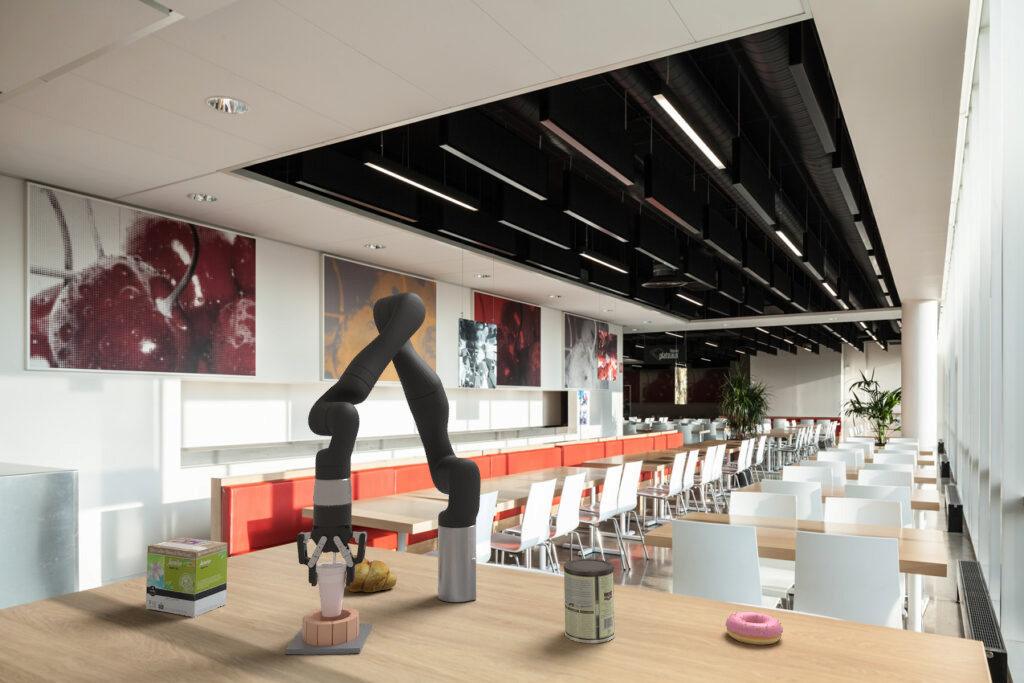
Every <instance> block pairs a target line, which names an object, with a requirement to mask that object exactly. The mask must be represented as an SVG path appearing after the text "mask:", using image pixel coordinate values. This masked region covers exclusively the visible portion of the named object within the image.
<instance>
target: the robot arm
mask: <svg viewBox="0 0 1024 683" xmlns="http://www.w3.org/2000/svg"><path fill="white" fill-rule="evenodd" d="M426 312H427V311H426V306H425V302H424V301H423V299H422V298H421V296H419V295H418V294H417V293H415V292H410V291H409V292H406V291H404V292H399V293H397V294H396V293H395V294H393V295H388V296H383V297H381V298H379V299H377V300H376V301H375V303H374V305H373V309H372V315H373V322H374V324H375V327H376V329H377V332H378V335H376V337H375V338H373V340H371V342H369V343H368V344H367V345H366V346H365V347H364V348H362V349H361V350H360V351H359V352H358V353H357V354H356V355H355V356H354V358H353V359H352V360H351V361H350V363H348V365H347V367H346V368H345V370H344V371H343V373H342V374H341V376H340V377H339V379H338V381H337V382H336V383H334V384H333V385H332V386H331V387H330V388H328V389H327V390H326V391H325V392H324V393H323V394H322V395H321V396H320V397H319V398H317V400H316V401H315V402H314V403H313V405H312V406H311V408H310V410H309V414H308V416H307V417H308V418H307V424H308V427H309V429H310V432H312V433H313V434H314V435H317V436H320V437H331V438H330V441H329V445H328V447H326V448H321V449H320V450H318V451H317V452H316V455H315V462H314V465H315V466H314V468H315V469H314V478H315V479H314V484H313V495H312V501H313V505H312V506H313V507H312V508H313V510H312V517H313V518H312V530H311V531H308V532H305V531H301V532H299V533H298V534H297V535H296V546H297V555H298V556H297V558H298V564H299V565H303V566H307V568H308V583H309V584H311V587H316V586H317V585H318V575H317V572H316V571H315V570H316V565H317V563H318V561H319V559H320V557H321V556H322V553H325V554H326V553H327V554H328V553H331V552H332V553H333V552H334V553H336V554H337V553H340V554H341V557H342V558H343V559H344V560H345V561H344V562H346V563H347V565H348V566H347V568H346V579H345V581H346V584H345V587H346V586H350V585H351V584H352V583H353V581H354V579H355V565H356V564H360V563H362V561H363V560H364V558H365V557H366V547H367V540H368V532H367V531H365V530H362V531H354V529H353V526H352V525H353V524H352V513H353V508H352V506H353V505H352V504H353V502H352V500H353V495H352V494H353V493H352V492H353V488H352V479H351V476H352V475H351V474H352V472H351V470H352V468H351V467H352V455H353V452H354V449H355V443H356V440H357V436H358V433H359V429H360V422H361V421H360V420H361V419H360V414H359V411H358V409H357V408H356V405H359V404H363V403H364V402H365V401H366V400H367V398H368V397H369V395H370V394H371V392H372V391H373V389H374V388H375V386H376V385H377V383H378V381H379V379H380V377H381V375H382V374H383V373H384V371H385V370H386V368H387V367H388V365H389V364H390V363H391V362H392V364H393V367H394V369H395V372H396V374H397V377H398V379H399V382H400V385H401V387H402V390H403V394H404V398H405V399H406V403H407V405H408V408H409V410H410V413H411V415H412V418H413V420H414V424H415V426H416V429H417V431H418V435H419V437H420V441H421V444H422V446H423V450H424V454H425V457H426V461H427V466H428V469H429V470H428V471H429V474H430V478H431V481H432V483H433V485H434V487H435V488H436V489H437V491H438V492H440V493H441V494H444V495H448V502H447V507H446V508H445V509H444V510H442V511H440V512H439V513H438V516H437V598H438V599H439V600H440V601H443V602H448V603H461V602H462V603H463V602H469V601H475V600H477V517H478V515H479V512H480V507H481V505H480V504H481V489H482V488H481V484H482V483H481V482H482V481H481V472H480V468H479V466H478V464H477V463H476V462H475V461H474V460H472V459H470V458H465V457H464V458H463V457H457V455H456V454H455V451H454V449H453V446H452V443H451V441H450V437H449V434H448V433H449V430H448V428H449V426H448V425H449V420H450V418H449V417H450V405H449V400H448V397H447V394H446V390H445V389H444V385H443V382H442V380H441V378H440V377H439V375H438V374H437V372H436V371H435V369H433V368H432V366H430V364H428V363H427V361H425V360H424V359H423V358H422V357H421V356H420V354H419V353H418V352H417V350H415V347H414V346H413V343H412V341H411V338H412V337H413V336H414V335H415V333H417V332H418V331H419V329H420V328H421V327H422V325H423V324H424V321H425V320H426V314H427V313H426ZM310 538H311V540H312V541H313V543H314V544H315V545H316V547H315V549H314V551H313V553H312V554H311V557H309V556H308V546H307V544H308V543H309V542H310ZM352 538H353V539H355V543H357V544H358V545H357V546H358V547H357V554H356V555H357V557H355V558H354V555H353V552H352V549H351V547H350V545H349V542H350V541H351V540H352ZM365 559H366V558H365Z"/></svg>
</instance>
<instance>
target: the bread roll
mask: <svg viewBox="0 0 1024 683" xmlns="http://www.w3.org/2000/svg"><path fill="white" fill-rule="evenodd" d="M353 556H354V558H355V557H357V554H355V555H353ZM397 582H398V581H397V576H396V575H395V573H393V572H392V571H390V567H389V565H387V563H386V562H384V561H381V560H376V559H375V560H372V561H369V560H368V559H367V558H364V560H363V561H362V563H360V564H356V565H355V579H354V581H353V583H352V584H351V585H350V586H346V580H345V588H346V589H347V590H348V591H349V592H351V593H354V592H356V593H357V592H365V593H373V592H374V593H375V592H379V591H386V590H387V591H388V590H389V589H392V588H394V587H395V586H396V585H397Z"/></svg>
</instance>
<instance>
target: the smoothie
mask: <svg viewBox="0 0 1024 683" xmlns="http://www.w3.org/2000/svg"><path fill="white" fill-rule="evenodd" d="M332 554H333V556H332V560H331V561H330V560H329V561H323V562H320V563H318V564H316V570H315V571H316V572H317V575H318V582H317V585H318V591H319V592H318V593H319V598H320V601H319V602H320V609H321V611H322V616H324V617H335V616H338V615H340V614H341V609H342V607H343V602H344V601H343V600H344V594H345V593H344V592H345V587H346V584H345V581H346V568H347V566H348V565H347V563H346V561H342V560H341V561H339V560H337V553H334V552H332Z"/></svg>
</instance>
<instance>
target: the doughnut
mask: <svg viewBox="0 0 1024 683" xmlns="http://www.w3.org/2000/svg"><path fill="white" fill-rule="evenodd" d="M779 621H780V619H779V620H777V619H776V618H775V617H774V616H771V615H768V614H767V613H762V612H756V611H741V612H737V611H736V612H735V613H731V614H730V616H728V617H726V621H725V624H724V625H725V627H726V631H727V633H728V635H729V636H730V637H731V638H733V639H735V640H736V641H738V642H741V643H743V644H749V645H757V646H765V645H766V646H767V645H772V644H775V643H777V642H779V640H780V639H781V638H782V636H783V635H782V634H783V633H784V627H783V626H782V623H781V622H779Z"/></svg>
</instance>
